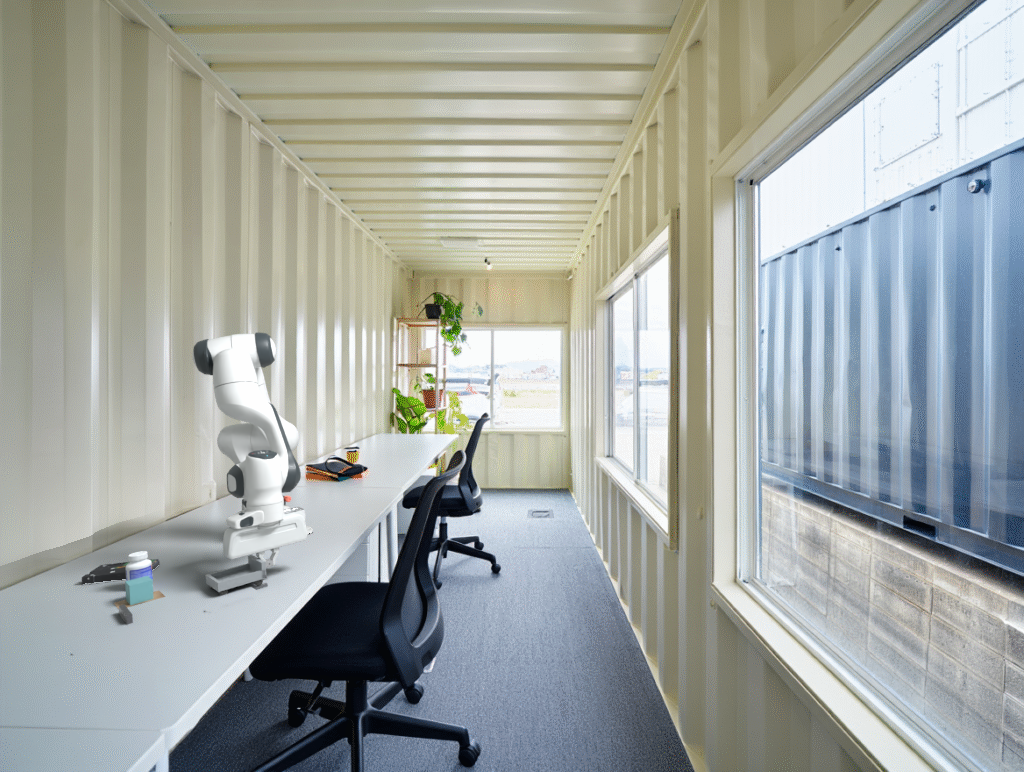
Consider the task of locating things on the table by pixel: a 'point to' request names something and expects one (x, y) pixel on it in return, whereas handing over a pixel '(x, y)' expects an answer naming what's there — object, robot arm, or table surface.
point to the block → (139, 590)
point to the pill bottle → (138, 566)
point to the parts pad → (155, 594)
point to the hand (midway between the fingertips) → (268, 566)
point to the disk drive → (111, 572)
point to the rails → (127, 614)
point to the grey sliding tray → (238, 575)
